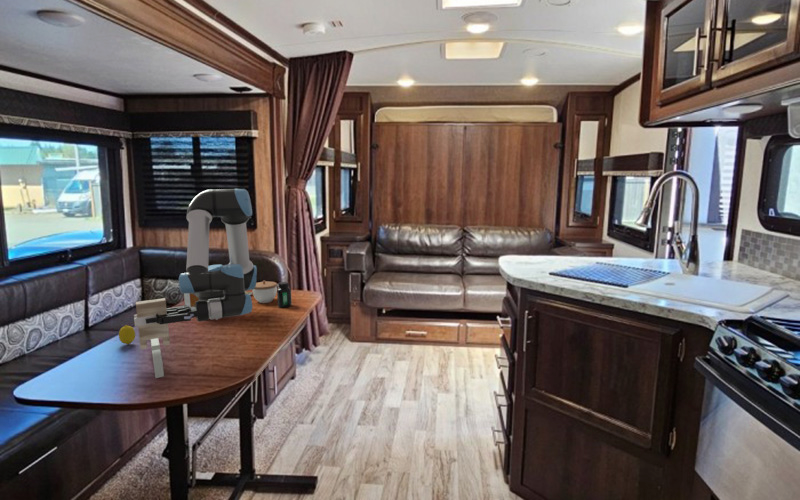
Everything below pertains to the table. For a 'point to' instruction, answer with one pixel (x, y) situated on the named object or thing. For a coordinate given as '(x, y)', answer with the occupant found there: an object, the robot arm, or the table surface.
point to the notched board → (157, 358)
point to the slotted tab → (154, 329)
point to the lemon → (126, 334)
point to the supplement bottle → (284, 295)
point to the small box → (191, 299)
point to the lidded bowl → (265, 291)
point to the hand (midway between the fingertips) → (134, 320)
